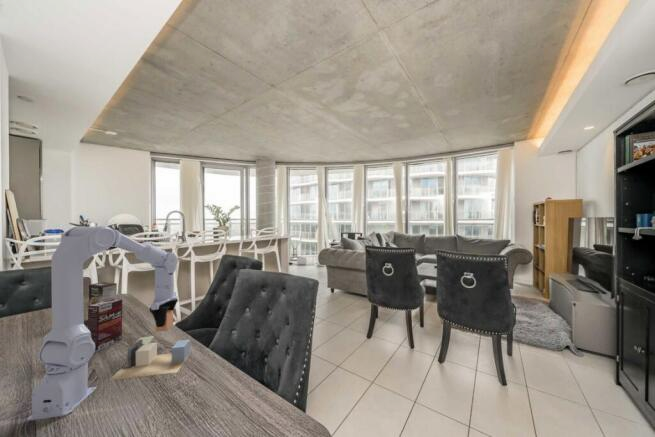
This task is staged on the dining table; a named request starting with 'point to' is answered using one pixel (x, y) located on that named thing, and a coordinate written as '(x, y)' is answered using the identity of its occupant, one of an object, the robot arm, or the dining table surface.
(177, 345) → the blue-grey block
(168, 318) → the terracotta cube
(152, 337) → the flat book
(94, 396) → the dining table surface
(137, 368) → the shelf board
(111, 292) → the coffee box
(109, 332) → the supplement box
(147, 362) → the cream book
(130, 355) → the bookend
